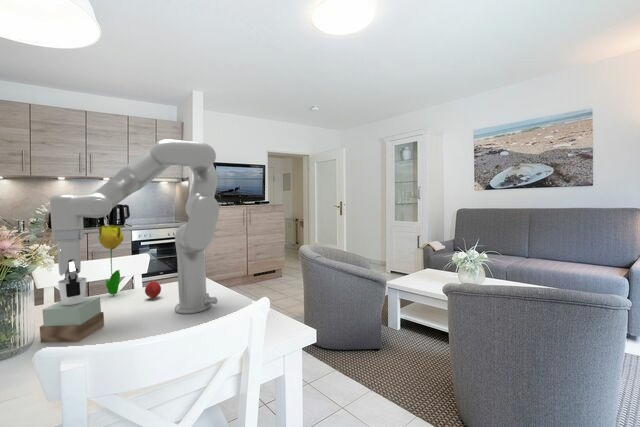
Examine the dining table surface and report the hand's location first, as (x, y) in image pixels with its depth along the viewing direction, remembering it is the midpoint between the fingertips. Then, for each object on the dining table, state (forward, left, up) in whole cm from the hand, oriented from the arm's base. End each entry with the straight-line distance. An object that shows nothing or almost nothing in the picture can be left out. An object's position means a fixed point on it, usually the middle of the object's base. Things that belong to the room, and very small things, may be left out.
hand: (72, 292), depth 97 cm
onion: (-7, -32, -13) cm, 35 cm away
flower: (+12, -36, -13) cm, 40 cm away
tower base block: (0, 0, -13) cm, 13 cm away
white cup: (0, 0, -3) cm, 3 cm away
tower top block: (0, 0, -8) cm, 8 cm away
